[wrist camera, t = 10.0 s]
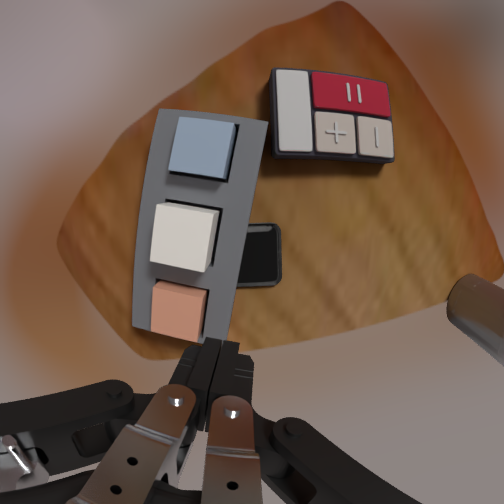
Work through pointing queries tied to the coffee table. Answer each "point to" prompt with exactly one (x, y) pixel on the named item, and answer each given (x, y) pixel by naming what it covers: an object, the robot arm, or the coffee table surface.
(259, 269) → the phone
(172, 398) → the robot arm
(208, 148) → the slate key
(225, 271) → the key panel
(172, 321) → the terracotta key
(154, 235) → the white key
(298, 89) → the calculator
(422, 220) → the coffee table surface
